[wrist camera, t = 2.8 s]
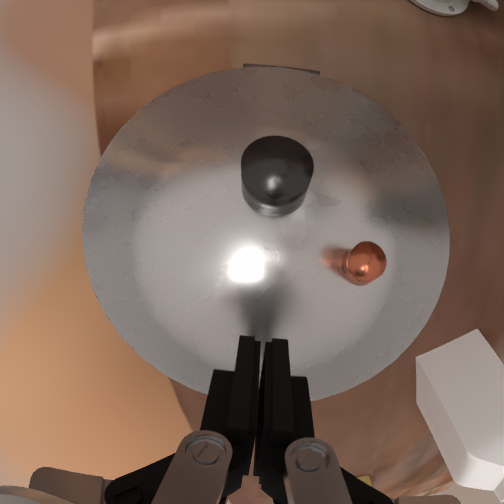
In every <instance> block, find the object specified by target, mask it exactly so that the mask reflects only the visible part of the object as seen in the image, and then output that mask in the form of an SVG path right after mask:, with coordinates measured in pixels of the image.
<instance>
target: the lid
mask: <svg viewBox="0 0 504 504" xmlns="http://www.w3.org/2000/svg"><path fill="white" fill-rule="evenodd" d="M449 245H450V232H449V223H448V214H447V210H446V205H445V201H444V197H443V193H442V191H441V188H440V185H439V183H438V180H437V178H436V175H435V173H434V171H433V169H432V167H431V165H430V163H429V161H428V160H427V158H426V156H425V154H424V153H423V152H422V150H421V149H420V147H419V146H418V144H417V143H416V141H415V140H414V139H413V138H412V136H411V135H410V134H409V133H408V132H407V131H406V130H405V128H404V127H403V126H402V125H401V124H400V123H399V122H398V121H397V120H396V119H395V118H394V117H392V116H391V115H390V114H389V113H388V112H387V111H386V110H384V109H383V108H382V107H380V106H379V105H378V104H376V103H375V102H374V101H372V100H371V99H369V98H367V97H366V96H364V95H363V94H361V93H359V92H357V91H356V90H354V89H352V88H350V87H348V86H346V85H343V84H341V83H339V82H337V81H334V80H331V79H329V78H326V77H323V76H320V71H314V70H308V69H300V68H292V67H283V66H273V65H260V64H243V68H236V69H229V70H223V71H219V72H214V73H210V74H207V75H203V76H200V77H198V78H195V79H192V80H189V81H187V82H185V83H182V84H180V85H178V86H176V87H174V88H172V89H170V90H168V91H167V92H165V93H163V94H162V95H160V96H158V97H157V98H155V99H154V100H152V101H151V102H150V103H148V104H147V105H146V106H144V107H143V108H142V109H141V110H139V111H138V112H137V113H136V114H135V115H134V116H133V117H132V118H131V119H130V120H129V121H128V122H127V123H126V124H125V125H124V126H123V127H122V128H121V129H120V131H119V132H118V133H117V134H116V136H115V137H114V138H113V140H112V141H111V142H110V144H109V145H108V147H107V149H106V150H105V152H104V154H103V155H102V157H101V159H100V161H99V163H98V165H97V167H96V169H95V172H94V174H93V176H92V179H91V182H90V186H89V189H88V192H87V196H86V200H85V207H84V214H83V250H84V256H85V262H86V268H87V271H88V274H89V278H90V281H91V284H92V287H93V290H94V293H95V295H96V297H97V299H98V301H99V303H100V304H101V307H102V309H103V311H104V312H105V314H106V316H107V317H108V319H109V320H110V322H111V323H112V325H113V326H114V327H115V329H116V330H117V332H118V333H119V334H120V336H121V337H122V338H123V339H124V340H125V341H126V342H127V343H128V344H129V345H130V346H131V347H132V348H133V349H134V350H135V351H136V352H137V353H138V354H139V355H140V356H141V357H142V358H143V359H144V360H146V361H147V362H148V363H150V364H151V365H152V366H154V367H155V368H156V369H158V370H159V371H160V372H162V373H163V374H165V375H166V376H168V377H170V378H172V379H173V380H175V381H177V382H179V383H181V384H183V385H185V386H187V387H189V388H191V389H193V390H196V391H199V392H202V393H204V394H207V395H208V392H209V387H210V383H211V378H212V374H213V370H214V369H219V370H227V371H235V364H236V357H237V350H238V343H239V336H240V335H244V336H255V341H261V351H260V373H259V384H260V377H261V370H262V363H263V356H264V349H265V343H266V342H271V341H272V338H279V339H288V346H289V359H290V372H291V376H305V377H307V380H308V387H309V394H310V401H315V400H319V399H322V398H326V397H329V396H332V395H335V394H338V393H341V392H344V391H346V390H349V389H351V388H353V387H355V386H357V385H358V384H360V383H362V382H364V381H366V380H368V379H370V378H372V377H373V376H375V375H376V374H377V373H379V372H380V371H382V370H383V369H384V368H386V367H387V366H388V365H390V364H391V363H392V362H394V361H395V360H396V359H397V358H398V357H399V356H400V355H401V354H402V353H403V352H404V351H405V350H406V349H407V348H408V347H409V346H410V345H411V343H412V342H413V341H414V340H415V338H416V337H417V336H418V334H419V333H420V331H421V330H422V329H423V327H424V326H425V324H426V323H427V321H428V319H429V318H430V316H431V314H432V312H433V310H434V308H435V306H436V304H437V302H438V299H439V296H440V293H441V290H442V287H443V284H444V281H445V277H446V272H447V266H448V260H449Z"/></svg>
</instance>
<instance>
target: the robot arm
mask: <svg viewBox="0 0 504 504" xmlns="http://www.w3.org/2000/svg"><path fill="white" fill-rule="evenodd" d="M410 1H411V2H412V3H414V4H416V5H417V6H419V7H420V8H422V9H424V10H426V11H429V12H431V13H434V14H437V15H441V16H455V15H458V14H460V13H461V12H463V11H464V10H465V9H466V8H467V7H468V4H469V1H470V0H410ZM471 1H473V2H479V3H481V4H482V5H483V6H485V7H487V8H488V9H490V10H492V11H496V10H497V9H498V2H497V1H496V0H471ZM260 351H261V341H255V336H244V335H240V336H239V343H238V350H237V357H236V364H235V371H227V370H219V369H214V370H213V374H212V378H211V383H210V387H209V392H208V396H207V401H206V405H205V410H204V414H203V419H202V423H201V428H200V431H195V432H193V433H190V434H189V435H187V436H186V437H184V439H183V440H182V441H181V443H180V445H179V447H178V449H177V451H176V453H174V454H172V455H170V456H168V457H166V458H164V459H161V460H159V461H157V462H155V463H152V464H150V465H148V466H146V467H143V468H141V469H139V470H136V471H134V472H131V473H129V474H126V475H124V476H121V477H119V478H116V479H115V480H106V479H103V477H100V476H94V475H87V474H81V473H76V472H70V471H65V470H61V469H56V468H51V467H42V468H38V469H37V470H36V471H35V472H33V474H32V476H31V479H30V484H29V488H25V487H18V486H0V504H227V501H228V498H229V495H230V494H232V493H233V492H235V491H236V490H238V489H239V488H241V483H242V477H243V475H248V474H249V469H250V464H251V458H252V453H253V447H254V442H255V454H254V472H253V476H259V484H261V489H262V490H263V491H264V492H265V493H266V494H268V495H269V496H270V504H461V503H460V501H459V500H458V499H457V498H456V497H454V496H452V495H435V496H399V497H398V498H397V499H395V498H389V497H388V496H386V495H385V494H383V493H381V492H380V491H378V490H376V489H374V488H373V487H371V486H370V485H368V484H366V483H365V482H363V481H361V480H360V479H358V478H357V477H355V476H354V475H352V474H350V473H349V472H347V471H346V470H344V469H343V468H341V467H340V466H339V463H338V460H337V457H336V454H335V452H334V450H333V448H332V447H331V446H330V445H329V444H328V443H326V442H324V441H322V440H321V439H316V438H315V436H314V427H313V419H312V410H311V402H310V394H309V387H308V380H307V377H305V376H291V372H290V359H289V346H288V339H279V338H272V341H271V342H266V343H265V349H264V356H263V363H262V370H261V377H260V384H259V373H260ZM255 436H256V437H255Z"/></svg>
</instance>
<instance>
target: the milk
mask: <svg viewBox="0 0 504 504" xmlns="http://www.w3.org/2000/svg"><path fill="white" fill-rule="evenodd" d="M416 403H417V405H418V407H419V409H420V411H421V413H422V415H423V417H424V419H425V421H426V423H427V425H428V427H429V429H430V431H431V433H432V435H433V437H434V439H435V441H436V443H437V446H438V448H439V450H440V452H441V454H442V456H443V458H444V460H445V463H446V465H447V467H448V469H449V471H450V474H451V476H452V478H453V480H454V481H455V482H456V483H457V484H459V485H461V486H465V487H470V488H477V489H484V490H491V491H494V493H495V494H496V496H497V498H498V499H499V501H500V502H501V503H502V502H503V501H504V365H503V363H502V362H501V360H500V359H499V357H498V356H497V355H496V353H495V352H494V350H493V349H492V348H491V346H490V345H489V344H488V342H487V341H486V339H485V338H484V337H483V335H482V334H481V333H480V332H479V330H478V329H475V330H473V331H471V332H469V333H467V334H465V335H463V336H461V337H459V338H457V339H455V340H453V341H451V342H449V343H447V344H445V345H442V346H440V347H438V348H436V349H433V350H431V351H429V352H427V353H424V354H422V355H420V356H417V357H416Z"/></svg>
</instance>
